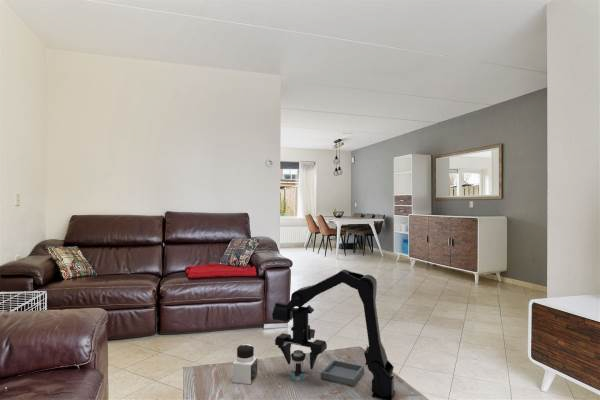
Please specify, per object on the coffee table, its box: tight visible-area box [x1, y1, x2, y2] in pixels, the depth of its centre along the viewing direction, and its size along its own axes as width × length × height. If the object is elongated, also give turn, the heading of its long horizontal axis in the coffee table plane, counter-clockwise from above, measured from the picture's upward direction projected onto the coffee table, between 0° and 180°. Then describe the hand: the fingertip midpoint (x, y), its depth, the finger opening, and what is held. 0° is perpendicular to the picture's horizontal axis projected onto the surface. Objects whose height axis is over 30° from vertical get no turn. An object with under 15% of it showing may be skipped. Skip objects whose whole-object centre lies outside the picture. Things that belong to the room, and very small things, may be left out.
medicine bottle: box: [232, 343, 258, 385], centre depth 135 cm, size 7×7×12 cm
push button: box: [291, 349, 310, 382], centre depth 135 cm, size 7×5×10 cm
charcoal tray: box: [320, 359, 365, 388], centre depth 138 cm, size 13×13×2 cm
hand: (300, 366), depth 135 cm, fingers open, 9 cm apart
